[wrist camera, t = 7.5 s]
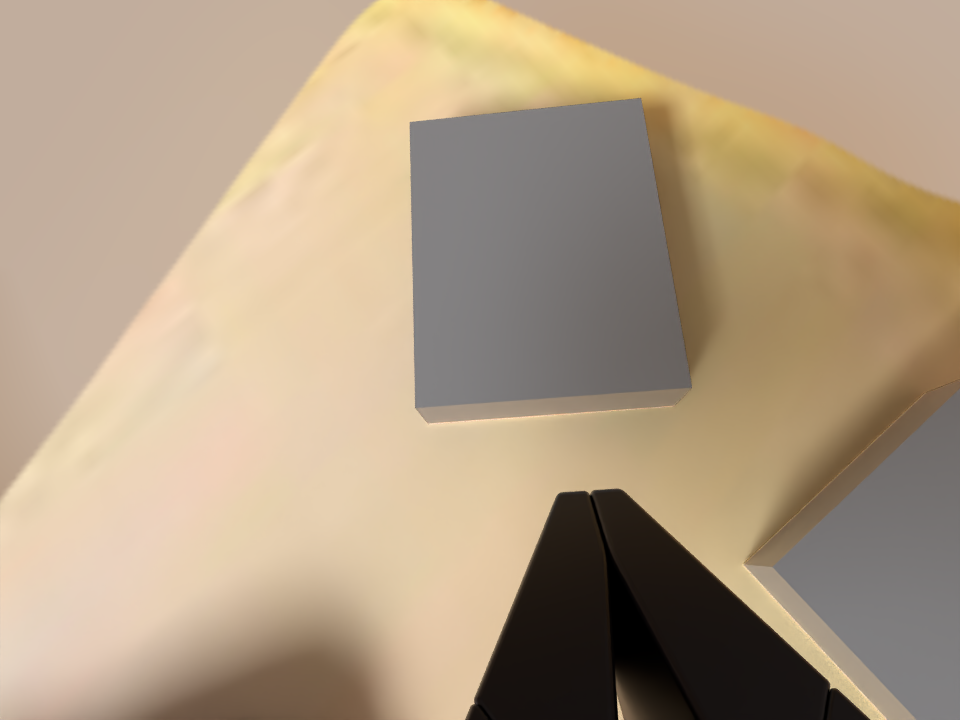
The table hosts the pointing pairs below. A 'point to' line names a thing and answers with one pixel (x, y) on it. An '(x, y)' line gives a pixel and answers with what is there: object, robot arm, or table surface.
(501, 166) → the tile
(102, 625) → the table surface
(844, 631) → the twin tile
